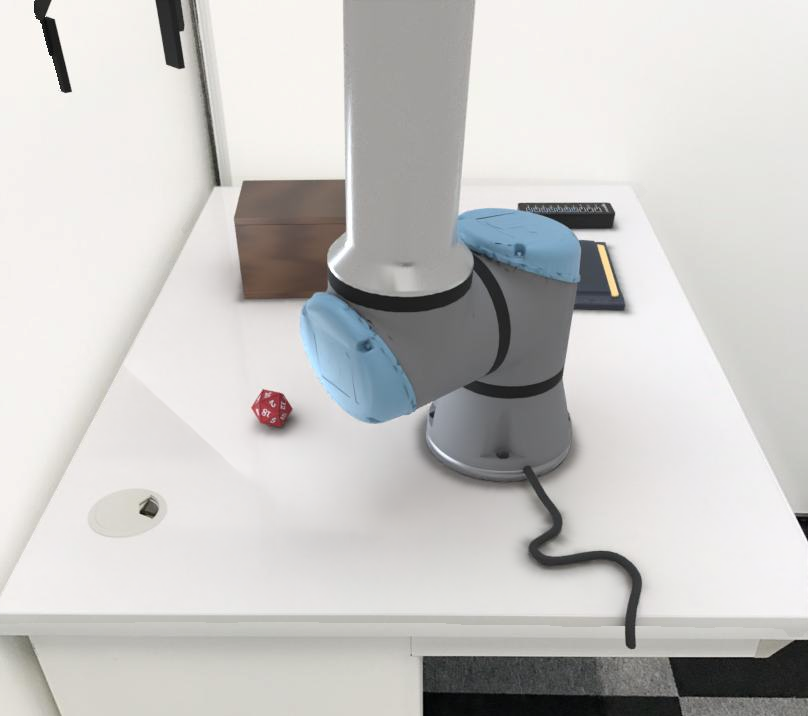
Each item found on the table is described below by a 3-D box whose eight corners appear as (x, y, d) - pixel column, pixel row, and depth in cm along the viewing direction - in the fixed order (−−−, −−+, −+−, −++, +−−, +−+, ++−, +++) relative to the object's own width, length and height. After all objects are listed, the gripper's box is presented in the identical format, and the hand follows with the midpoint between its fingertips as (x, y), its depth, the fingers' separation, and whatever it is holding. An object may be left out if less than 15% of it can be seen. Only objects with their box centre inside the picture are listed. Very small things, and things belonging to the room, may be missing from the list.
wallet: (506, 230, 125) (611, 234, 124) (505, 243, 126) (609, 247, 125) (509, 293, 110) (627, 298, 109) (507, 307, 111) (624, 312, 111)
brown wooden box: (355, 255, 123) (352, 179, 115) (355, 297, 113) (353, 216, 106) (252, 257, 122) (242, 180, 115) (244, 298, 113) (233, 218, 105)
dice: (256, 413, 93) (251, 381, 90) (296, 414, 93) (293, 383, 90) (250, 433, 90) (245, 401, 88) (292, 434, 90) (288, 402, 87)
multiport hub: (516, 217, 133) (517, 202, 132) (607, 216, 134) (610, 202, 132) (519, 228, 130) (521, 213, 128) (613, 228, 130) (616, 213, 129)
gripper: (165, -186, 86) (199, 51, 100) (-87, -178, 73) (-7, 93, 87) (208, -184, 82) (236, 63, 96) (-52, -175, 69) (26, 108, 83)
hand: (121, 78), depth 91 cm, fingers open, 13 cm apart
